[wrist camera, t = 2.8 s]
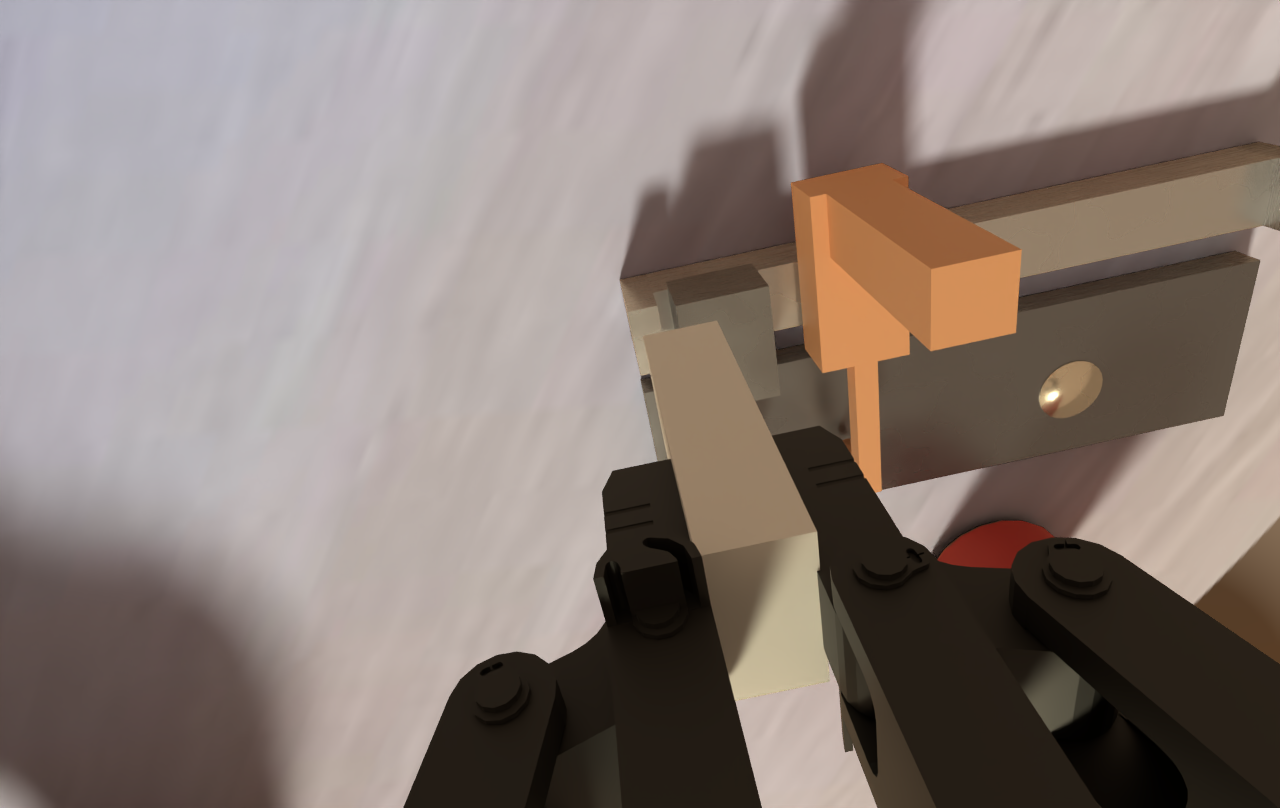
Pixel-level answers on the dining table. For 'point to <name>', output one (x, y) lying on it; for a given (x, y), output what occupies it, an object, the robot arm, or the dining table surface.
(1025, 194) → the beam
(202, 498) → the dining table surface
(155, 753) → the dining table surface
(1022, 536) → the beer can
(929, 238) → the block
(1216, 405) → the hole plate
